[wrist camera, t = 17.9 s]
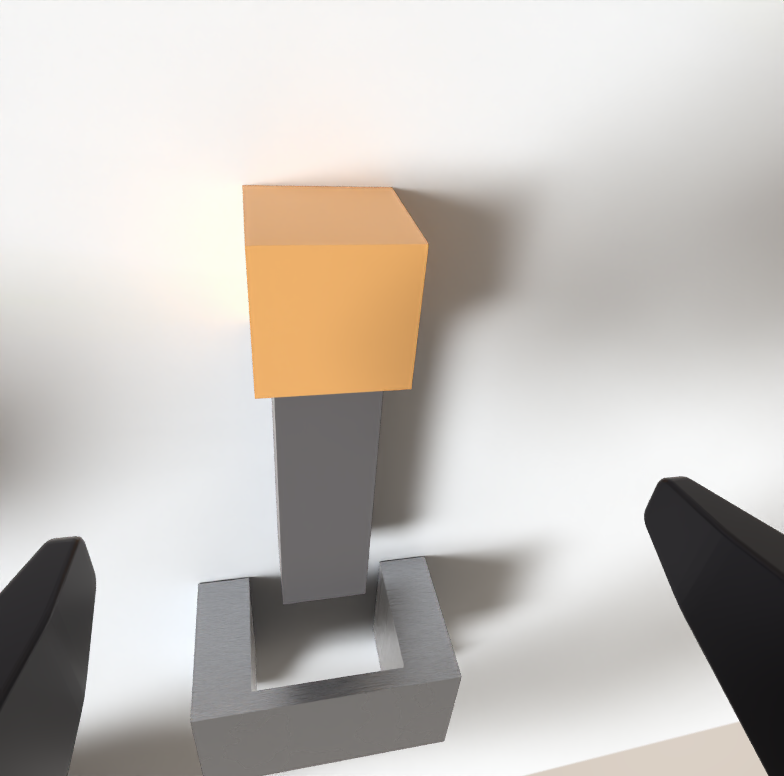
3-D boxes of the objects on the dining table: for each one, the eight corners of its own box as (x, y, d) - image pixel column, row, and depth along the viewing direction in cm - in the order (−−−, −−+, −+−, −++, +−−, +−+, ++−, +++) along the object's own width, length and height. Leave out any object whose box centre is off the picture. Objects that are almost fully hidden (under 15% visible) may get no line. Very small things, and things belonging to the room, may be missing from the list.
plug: (364, 529, 25) (383, 615, 22) (265, 540, 24) (270, 631, 21) (392, 186, 17) (428, 243, 13) (241, 184, 16) (244, 245, 13)
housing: (413, 657, 31) (442, 772, 27) (208, 689, 29) (204, 820, 25) (432, 555, 27) (470, 675, 22) (189, 585, 24) (179, 723, 20)
